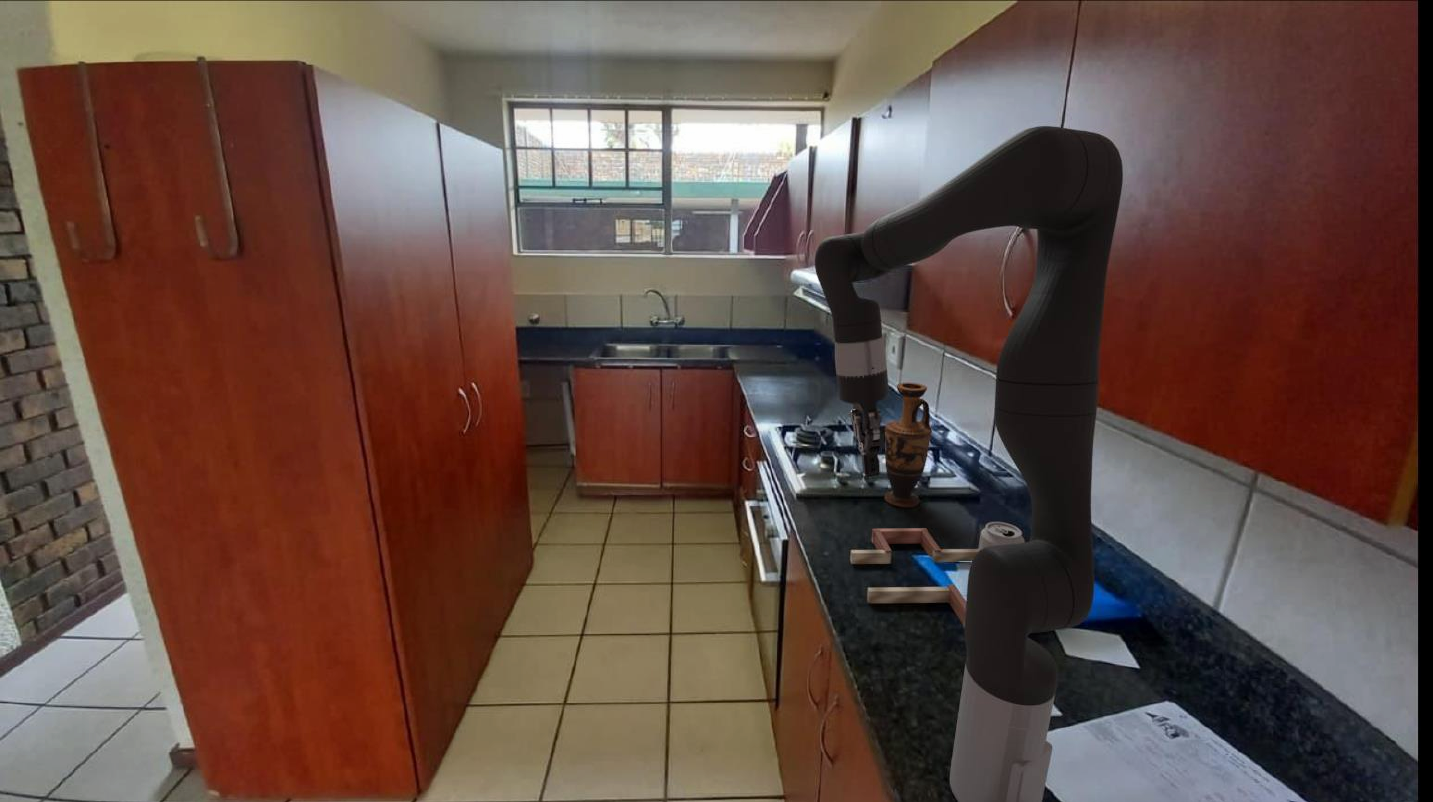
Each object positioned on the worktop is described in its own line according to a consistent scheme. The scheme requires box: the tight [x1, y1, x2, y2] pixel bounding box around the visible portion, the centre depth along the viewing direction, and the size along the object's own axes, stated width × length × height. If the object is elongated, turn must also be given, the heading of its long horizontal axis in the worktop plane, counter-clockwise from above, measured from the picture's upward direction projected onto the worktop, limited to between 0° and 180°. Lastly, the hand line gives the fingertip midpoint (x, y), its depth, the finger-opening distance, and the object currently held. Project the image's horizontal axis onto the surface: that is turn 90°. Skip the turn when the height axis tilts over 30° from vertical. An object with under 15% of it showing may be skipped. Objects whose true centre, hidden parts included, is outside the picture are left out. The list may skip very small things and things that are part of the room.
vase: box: [884, 382, 933, 509], centre depth 144 cm, size 11×11×30 cm
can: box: [977, 521, 1025, 552], centre depth 112 cm, size 8×8×12 cm
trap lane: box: [849, 527, 979, 628], centre depth 114 cm, size 33×30×3 cm
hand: (871, 474), depth 93 cm, fingers closed
